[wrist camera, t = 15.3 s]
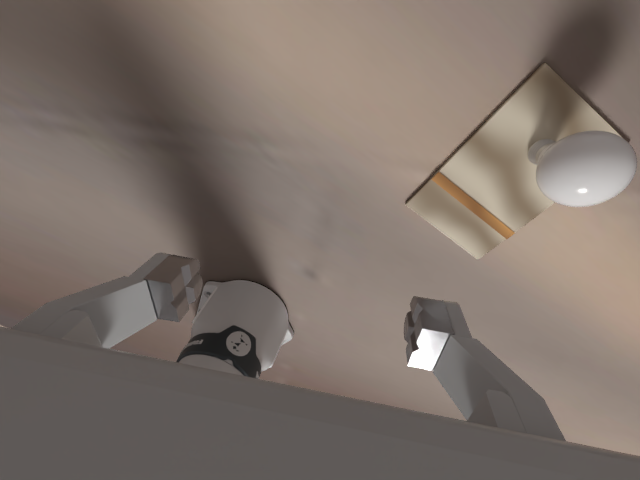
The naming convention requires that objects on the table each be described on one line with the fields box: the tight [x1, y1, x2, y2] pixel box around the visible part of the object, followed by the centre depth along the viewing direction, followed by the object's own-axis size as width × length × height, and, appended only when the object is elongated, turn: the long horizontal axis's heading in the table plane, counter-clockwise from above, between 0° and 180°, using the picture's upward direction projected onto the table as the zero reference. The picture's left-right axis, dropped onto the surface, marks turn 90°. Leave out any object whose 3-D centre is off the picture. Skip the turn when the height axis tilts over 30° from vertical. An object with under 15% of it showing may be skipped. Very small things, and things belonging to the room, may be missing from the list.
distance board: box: [405, 63, 621, 260], centre depth 34 cm, size 19×13×1 cm
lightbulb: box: [528, 130, 637, 207], centre depth 27 cm, size 6×6×11 cm
